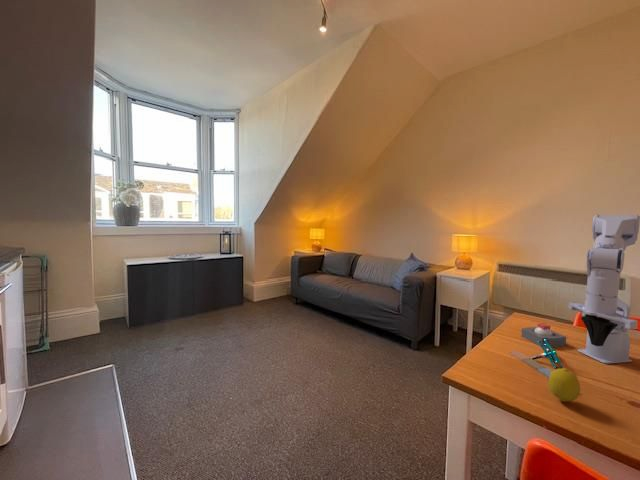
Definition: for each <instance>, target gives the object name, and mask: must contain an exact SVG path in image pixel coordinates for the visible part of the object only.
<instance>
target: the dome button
mask: <svg viewBox="0 0 640 480" xmlns="http://www.w3.org/2000/svg"><path fill="white" fill-rule="evenodd" d="M536 327H537V328H536V329H535V330H534V332H536V333H538V334H540V335H543V336H550V335H553V334H552V332H551V325H549V324H546V323H537V326H536Z"/></svg>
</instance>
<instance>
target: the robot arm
mask: <svg viewBox="0 0 640 480" xmlns="http://www.w3.org/2000/svg"><path fill="white" fill-rule="evenodd" d="M591 224H592V225H591V226H592V227H591V233H592V240H593V246H592V249H587V251H586V252H587V253H586V258H585V262H586V263H585V264H586V276H587V281H586V292H585V293H586V294H585V300H584V304H583V303H579V302H575V301H574V302H569V301H568V310H569V311H570V310H571V311H576V312H579V313H581V317H580V319H581V322H582V323H584V326H585V328H586V330H587V332H586V342H585V344H586V345H585V348H582V349H581V348H580V349H577V352H579V353H581V354H583V355H586V356H588V357H590V358H591V359H594V360H596V361H598V362H601V363H602V364H606V365H607V364H620V363H621V364H622V363H632V362H633V360H632V359H630V347H631V338H630V335H629V334H628V333H627V332H628V331H629V330H638V323H639V321H638V320H636V319H632V318H630V315H631V313H630V312H631V309H630V306H629V305H628V304H627V303H626V302H624V301H623V300H622V299H620V298H619V288H620V283H621V282H620V280H621V273H622V271H623V269H624V265H625V264H624V263H625V250H626V249H627V247H630V246H632V245H636V242H637V241H638V236H639V232H640V215H639V214H624V215H623V214H622V215H621V214H602V215H600V214H596V215H594V216H593V219H592V223H591Z"/></svg>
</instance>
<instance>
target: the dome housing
mask: <svg viewBox="0 0 640 480" xmlns="http://www.w3.org/2000/svg"><path fill="white" fill-rule="evenodd" d="M536 328H537V326H530V327H524V328H521V338H524V339H525V340H528V341H529V342H531V343H533V344H535V345H537V346H539V347H541V346H540V344H539V343H538V341H542V342H540V343H541V344H542V346H543V345H547V343H546V342H545V341H544V342H543V340H545V339H546V340H547V342H548V344H549V345H551V346H552V347H553V348H560V347H563V345H564V346H567V336H565V335H564V334H561V333H559V332H556V331H554V330H551V329H550V330H551V332H552V334H553V335H550V336H543V335H540V334H538V333H536V332H534V330H535V329H536ZM547 346H548V345H547Z"/></svg>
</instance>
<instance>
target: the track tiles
mask: <svg viewBox="0 0 640 480" xmlns="http://www.w3.org/2000/svg"><path fill="white" fill-rule="evenodd" d="M508 354H509V355H510V356H511V355H512V356H513V357H514V358H516V359H518V360H519V361H521V362H523V364H525V365H527V366H529V367H531V368H532V369H534V370H535V371H537V372H538V373H540V374H542V375H543V376H545V377H547V378H548V379H549V376H550V374H551V372H552V371H553V370H551V369H549V368H548V367H546V366H544V365H542V364H541V363H539V362H538V361H536V360H533V359H531V357H529V356H527V355H526V354H524V353H522V352H520V351H519V350H510V351H508Z"/></svg>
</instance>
